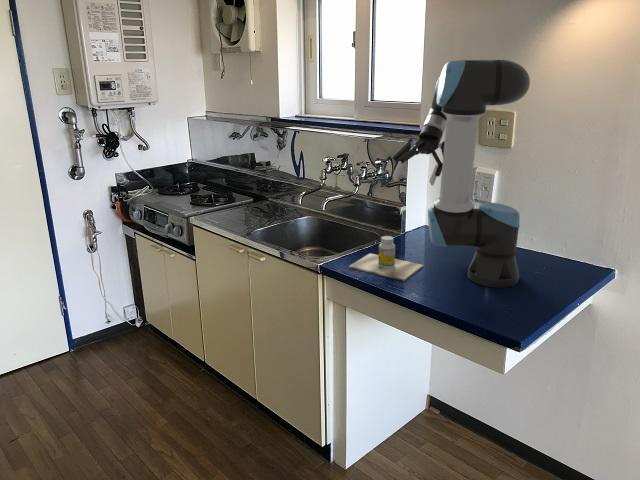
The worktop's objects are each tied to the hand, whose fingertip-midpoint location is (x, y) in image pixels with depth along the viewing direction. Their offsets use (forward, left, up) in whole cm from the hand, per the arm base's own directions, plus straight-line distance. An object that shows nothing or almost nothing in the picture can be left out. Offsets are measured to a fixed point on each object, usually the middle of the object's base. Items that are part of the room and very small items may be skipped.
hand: (412, 180), depth 176 cm
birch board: (0, +18, -26) cm, 31 cm away
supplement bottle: (0, +18, -25) cm, 31 cm away
